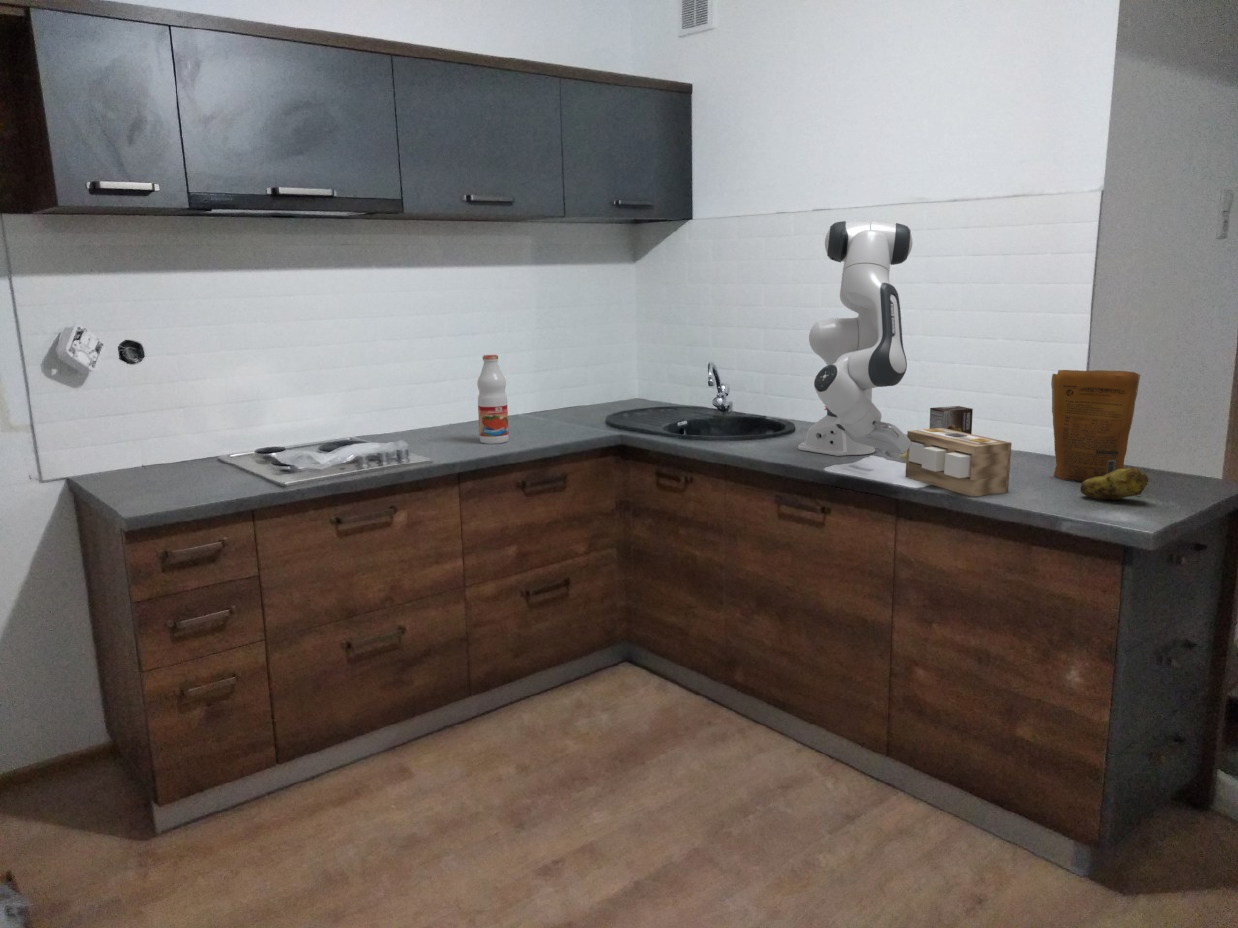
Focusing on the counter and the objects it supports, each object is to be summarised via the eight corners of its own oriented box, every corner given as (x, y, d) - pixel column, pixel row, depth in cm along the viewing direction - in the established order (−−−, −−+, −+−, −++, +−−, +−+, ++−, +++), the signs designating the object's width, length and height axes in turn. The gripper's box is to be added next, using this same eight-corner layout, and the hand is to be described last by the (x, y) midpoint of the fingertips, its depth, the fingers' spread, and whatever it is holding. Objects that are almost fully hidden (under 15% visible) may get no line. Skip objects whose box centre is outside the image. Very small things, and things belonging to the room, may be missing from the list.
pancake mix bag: (1125, 489, 219) (1137, 372, 213) (1042, 478, 231) (1051, 368, 225) (1133, 484, 223) (1144, 370, 218) (1051, 474, 236) (1060, 366, 230)
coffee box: (955, 463, 251) (959, 405, 248) (970, 467, 245) (974, 408, 242) (926, 465, 249) (929, 407, 246) (940, 470, 243) (944, 410, 240)
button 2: (959, 478, 214) (960, 457, 213) (944, 474, 218) (945, 453, 217) (989, 474, 217) (990, 453, 216) (973, 470, 221) (975, 450, 220)
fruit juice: (503, 438, 303) (499, 353, 297) (513, 442, 295) (509, 355, 289) (476, 440, 299) (471, 355, 293) (485, 445, 290) (480, 357, 285)
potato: (1093, 492, 216) (1096, 459, 215) (1150, 502, 206) (1154, 468, 205) (1075, 498, 211) (1078, 464, 210) (1133, 508, 201) (1137, 473, 200)
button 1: (921, 464, 229) (922, 444, 228) (908, 460, 234) (909, 441, 233) (950, 461, 232) (951, 441, 231) (937, 457, 237) (938, 438, 236)
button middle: (935, 471, 221) (936, 451, 220) (921, 467, 225) (922, 447, 224) (964, 468, 224) (966, 448, 223) (950, 464, 229) (951, 444, 228)
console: (972, 496, 214) (975, 444, 212) (905, 476, 236) (907, 429, 234) (1008, 492, 218) (1011, 440, 216) (938, 472, 240) (941, 425, 237)
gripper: (897, 415, 213) (929, 452, 219) (845, 404, 232) (875, 439, 238) (881, 435, 213) (913, 472, 218) (830, 423, 231) (860, 457, 237)
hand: (893, 455), depth 228 cm, fingers closed
